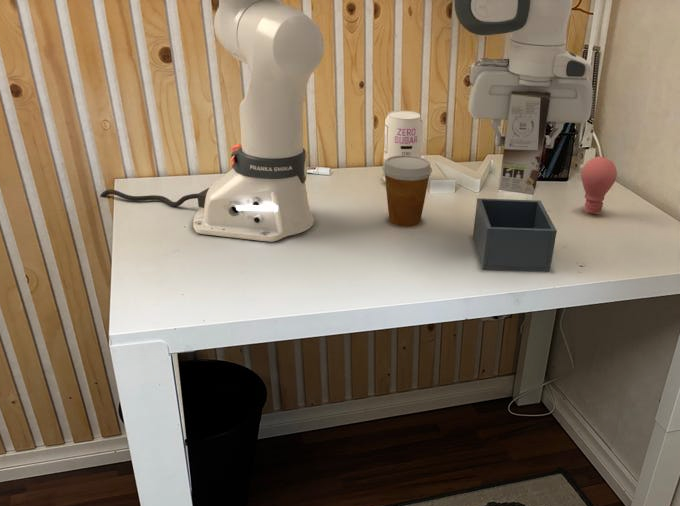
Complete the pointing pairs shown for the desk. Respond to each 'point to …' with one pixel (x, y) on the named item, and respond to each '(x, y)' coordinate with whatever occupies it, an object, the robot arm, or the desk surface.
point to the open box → (513, 235)
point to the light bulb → (597, 182)
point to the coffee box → (524, 141)
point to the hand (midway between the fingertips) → (524, 146)
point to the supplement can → (402, 134)
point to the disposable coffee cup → (406, 188)
